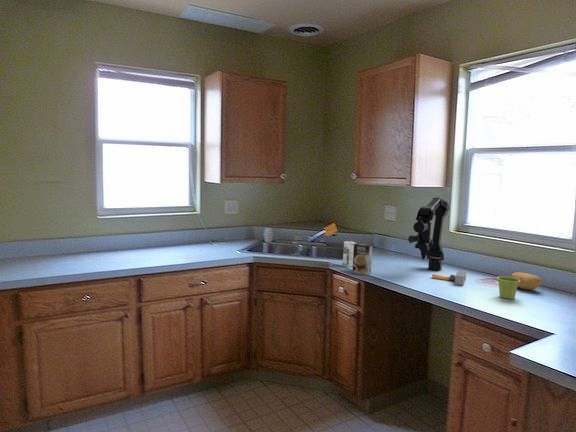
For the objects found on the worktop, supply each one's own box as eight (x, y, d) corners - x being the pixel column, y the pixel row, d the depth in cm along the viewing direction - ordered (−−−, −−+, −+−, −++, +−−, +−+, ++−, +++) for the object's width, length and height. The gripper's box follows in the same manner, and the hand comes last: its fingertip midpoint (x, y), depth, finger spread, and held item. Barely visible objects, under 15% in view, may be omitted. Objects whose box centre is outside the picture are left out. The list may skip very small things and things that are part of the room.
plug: (431, 278, 220) (432, 272, 220) (432, 277, 223) (433, 271, 223) (458, 282, 214) (458, 276, 214) (458, 281, 217) (459, 275, 217)
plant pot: (490, 295, 194) (492, 277, 193) (505, 293, 197) (507, 275, 196) (507, 301, 185) (509, 282, 184) (523, 299, 188) (525, 280, 187)
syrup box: (342, 265, 245) (343, 241, 243) (351, 264, 247) (352, 240, 246) (346, 267, 240) (348, 242, 238) (355, 266, 242) (357, 242, 240)
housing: (454, 284, 210) (455, 275, 209) (457, 278, 222) (458, 270, 222) (463, 285, 208) (463, 276, 208) (465, 279, 220) (466, 271, 220)
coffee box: (351, 272, 227) (353, 244, 226) (355, 270, 233) (357, 242, 231) (368, 275, 223) (369, 246, 221) (371, 272, 229) (372, 244, 227)
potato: (517, 284, 214) (519, 269, 213) (544, 292, 201) (546, 276, 201) (505, 286, 210) (506, 270, 209) (531, 294, 197) (533, 277, 196)
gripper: (413, 227, 233) (411, 254, 235) (406, 231, 217) (404, 260, 219) (433, 229, 228) (431, 257, 230) (428, 233, 212) (426, 263, 214)
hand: (423, 259), depth 223 cm, fingers closed
